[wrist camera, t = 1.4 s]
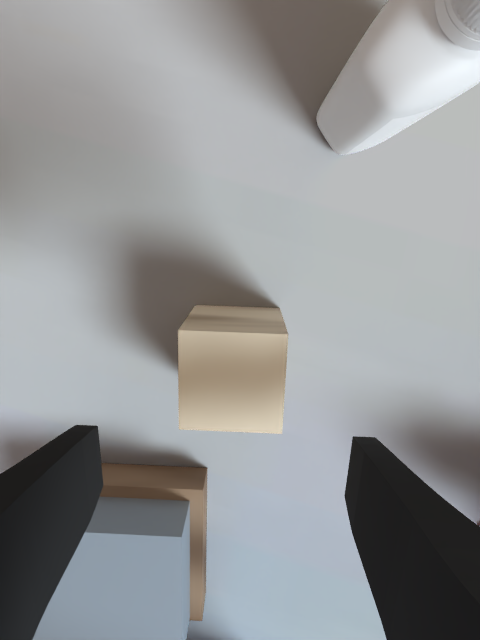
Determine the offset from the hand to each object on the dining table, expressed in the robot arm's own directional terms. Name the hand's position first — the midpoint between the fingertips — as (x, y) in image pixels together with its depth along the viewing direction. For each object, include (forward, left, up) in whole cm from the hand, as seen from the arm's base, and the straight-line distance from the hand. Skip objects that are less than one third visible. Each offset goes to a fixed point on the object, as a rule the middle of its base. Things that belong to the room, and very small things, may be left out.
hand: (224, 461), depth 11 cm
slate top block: (-12, +6, -8) cm, 16 cm away
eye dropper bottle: (+12, -6, -10) cm, 17 cm away
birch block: (0, 0, -10) cm, 10 cm away
